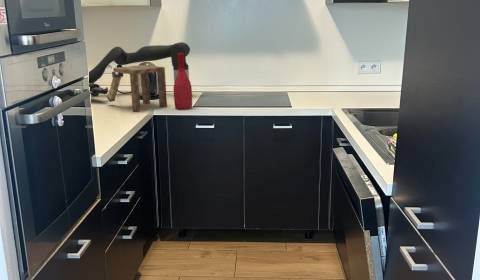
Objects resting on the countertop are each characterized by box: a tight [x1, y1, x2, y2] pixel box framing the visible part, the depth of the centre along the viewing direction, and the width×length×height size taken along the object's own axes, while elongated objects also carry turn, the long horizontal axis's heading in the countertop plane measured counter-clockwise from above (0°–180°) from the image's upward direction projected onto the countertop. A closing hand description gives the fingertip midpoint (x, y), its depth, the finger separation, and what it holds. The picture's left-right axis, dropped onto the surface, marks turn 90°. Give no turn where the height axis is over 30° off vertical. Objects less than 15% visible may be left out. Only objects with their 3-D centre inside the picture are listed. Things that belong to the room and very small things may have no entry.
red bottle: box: [173, 53, 193, 110], centre depth 259 cm, size 10×10×30 cm
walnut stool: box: [111, 64, 168, 113], centre depth 264 cm, size 21×20×22 cm
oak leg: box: [106, 73, 122, 103], centre depth 269 cm, size 3×3×18 cm
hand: (105, 92), depth 277 cm, fingers closed
